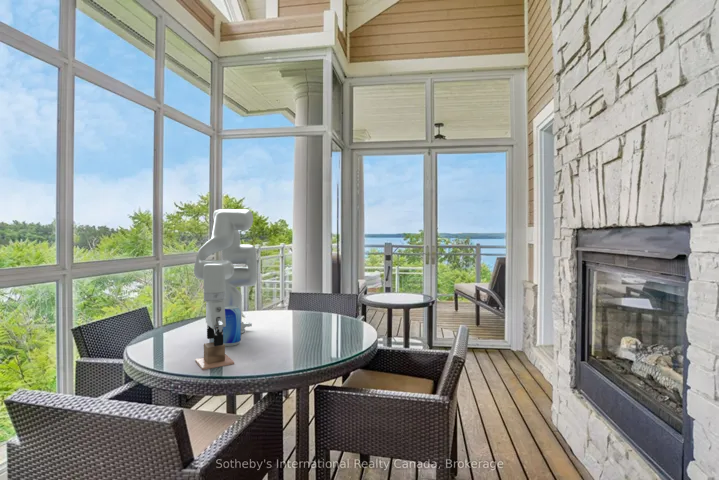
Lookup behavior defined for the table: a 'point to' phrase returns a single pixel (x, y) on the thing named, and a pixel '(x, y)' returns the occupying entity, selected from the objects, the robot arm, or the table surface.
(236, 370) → the table surface
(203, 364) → the coaster
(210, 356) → the walnut block
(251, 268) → the robot arm
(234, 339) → the beer can
